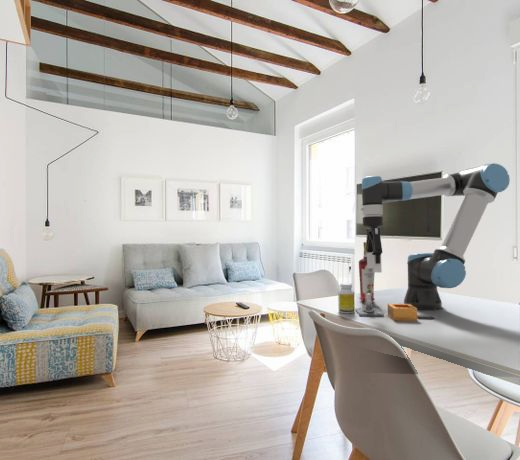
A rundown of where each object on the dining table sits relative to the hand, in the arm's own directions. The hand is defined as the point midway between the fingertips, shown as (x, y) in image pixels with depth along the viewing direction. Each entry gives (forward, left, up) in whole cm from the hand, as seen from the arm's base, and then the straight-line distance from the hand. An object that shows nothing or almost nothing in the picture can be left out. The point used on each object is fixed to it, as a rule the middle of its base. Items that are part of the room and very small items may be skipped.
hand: (374, 270), depth 140 cm
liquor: (-3, -28, -18) cm, 34 cm away
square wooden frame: (-10, +3, -18) cm, 20 cm away
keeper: (+1, -4, -18) cm, 18 cm away
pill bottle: (+10, -6, -18) cm, 21 cm away
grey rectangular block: (-18, +3, -18) cm, 26 cm away
